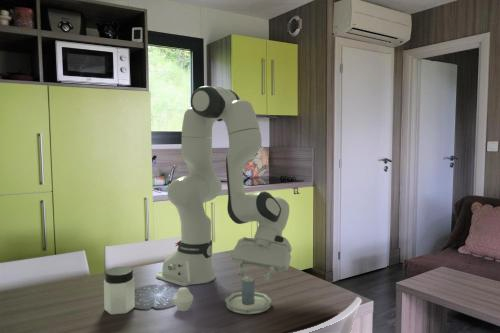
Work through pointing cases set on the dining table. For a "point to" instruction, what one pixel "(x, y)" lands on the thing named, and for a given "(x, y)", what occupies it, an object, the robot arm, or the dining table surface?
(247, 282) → the ball
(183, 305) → the muffin
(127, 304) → the jar
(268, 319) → the dining table surface
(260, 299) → the plate
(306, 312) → the dining table surface
